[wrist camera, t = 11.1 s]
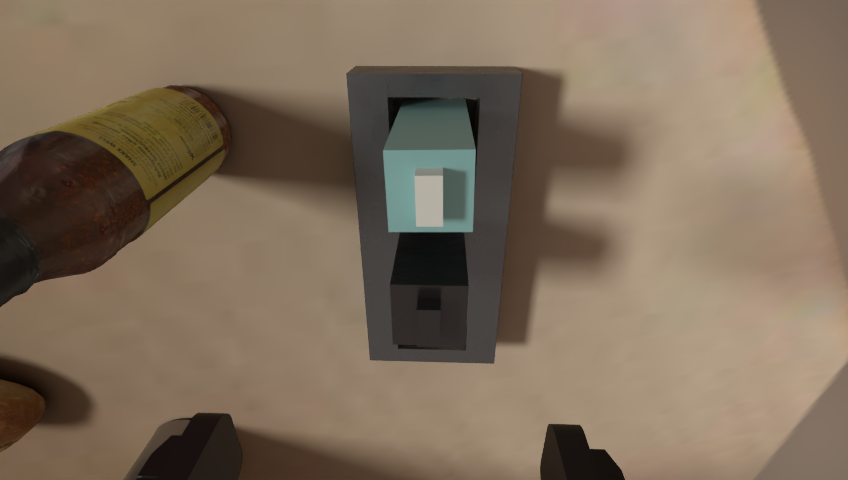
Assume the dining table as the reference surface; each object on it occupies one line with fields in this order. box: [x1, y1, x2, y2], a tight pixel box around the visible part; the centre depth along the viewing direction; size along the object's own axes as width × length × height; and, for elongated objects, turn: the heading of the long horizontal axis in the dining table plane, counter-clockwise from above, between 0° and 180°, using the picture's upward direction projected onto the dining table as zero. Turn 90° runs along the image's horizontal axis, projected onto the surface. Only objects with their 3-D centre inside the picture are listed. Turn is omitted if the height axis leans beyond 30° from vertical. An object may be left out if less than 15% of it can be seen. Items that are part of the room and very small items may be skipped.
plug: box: [383, 98, 476, 232], centre depth 24 cm, size 4×4×12 cm
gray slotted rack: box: [346, 66, 523, 363], centre depth 28 cm, size 22×10×12 cm, turn 0°
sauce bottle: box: [0, 85, 231, 307], centre depth 22 cm, size 7×6×20 cm
